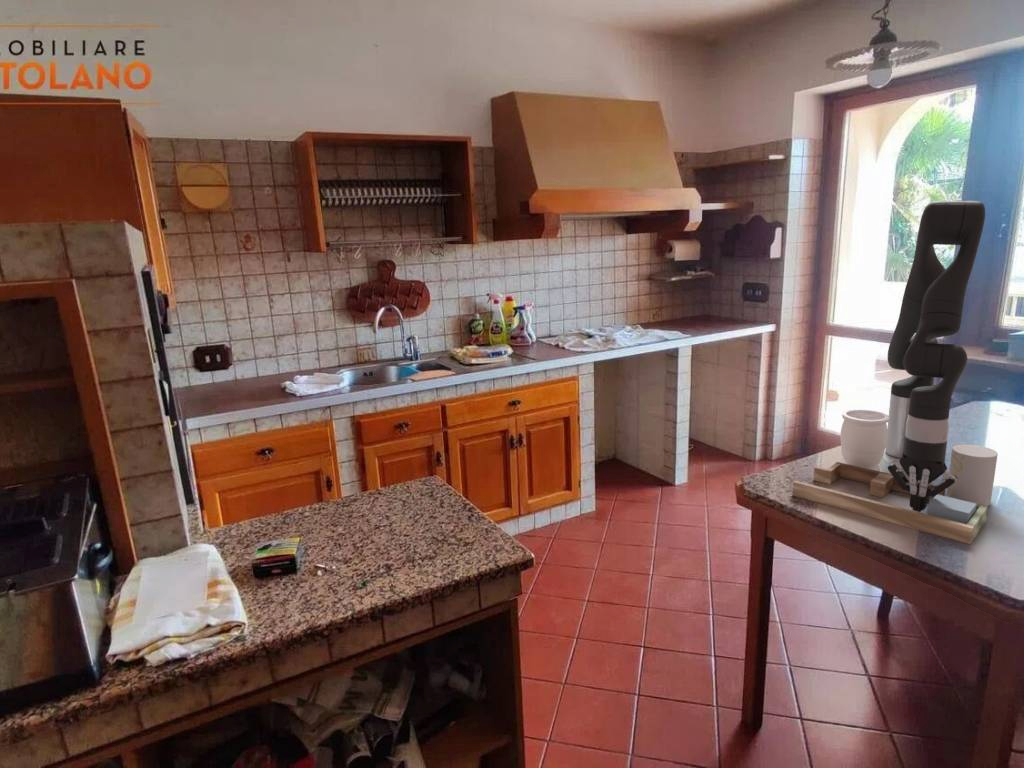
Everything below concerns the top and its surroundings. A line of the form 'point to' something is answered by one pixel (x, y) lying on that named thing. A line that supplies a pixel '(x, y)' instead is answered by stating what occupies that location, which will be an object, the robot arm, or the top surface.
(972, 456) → the white cylinder
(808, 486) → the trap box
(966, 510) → the block
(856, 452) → the jar
